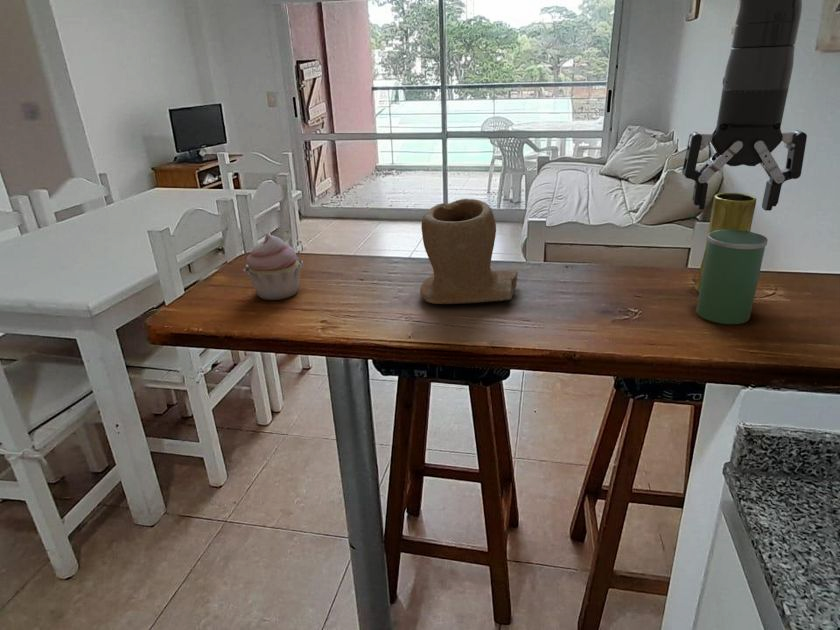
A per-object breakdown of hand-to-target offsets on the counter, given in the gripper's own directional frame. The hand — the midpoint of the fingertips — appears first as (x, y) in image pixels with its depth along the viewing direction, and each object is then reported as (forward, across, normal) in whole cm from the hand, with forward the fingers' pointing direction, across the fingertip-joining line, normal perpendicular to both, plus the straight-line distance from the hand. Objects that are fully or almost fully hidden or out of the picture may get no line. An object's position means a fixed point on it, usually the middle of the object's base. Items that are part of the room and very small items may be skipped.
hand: (732, 208), depth 81 cm
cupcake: (+12, -67, -11) cm, 69 cm away
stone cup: (+12, -36, -9) cm, 39 cm away
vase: (+13, 0, 0) cm, 13 cm away
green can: (+12, -1, -9) cm, 15 cm away
